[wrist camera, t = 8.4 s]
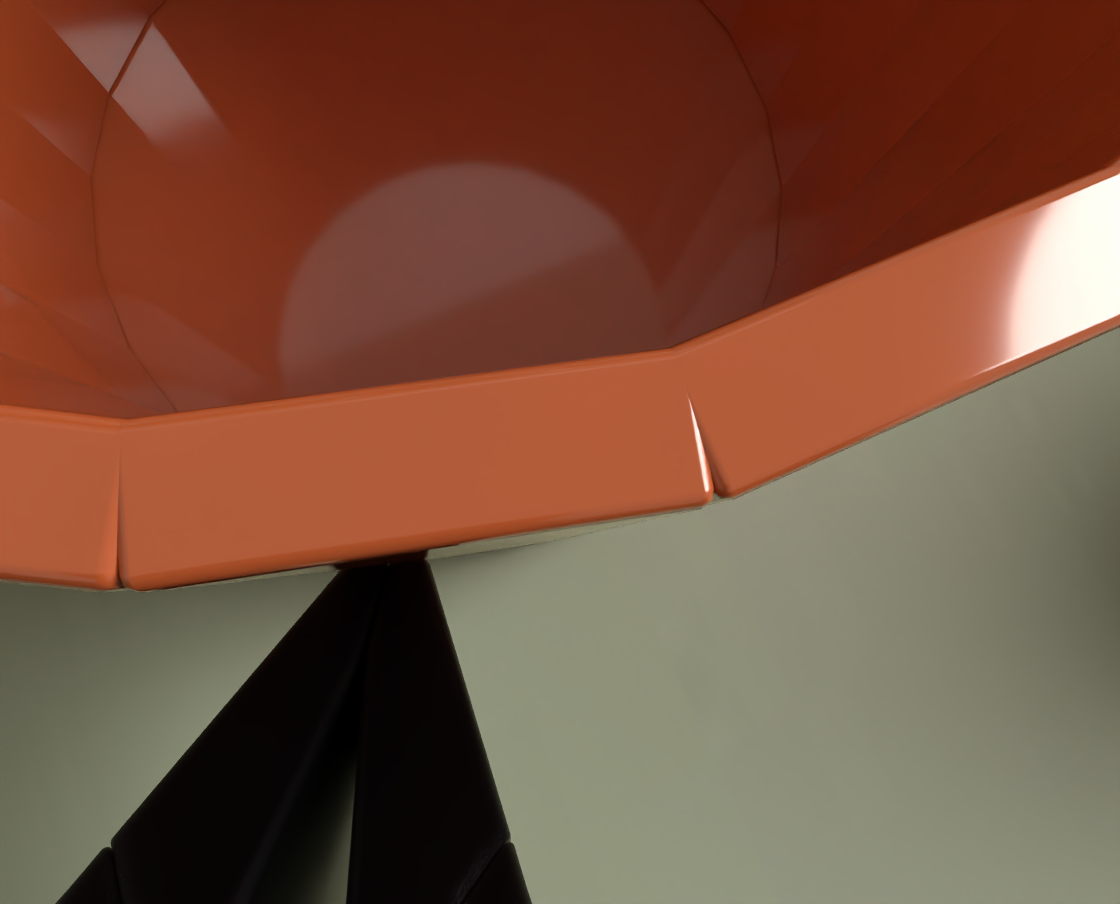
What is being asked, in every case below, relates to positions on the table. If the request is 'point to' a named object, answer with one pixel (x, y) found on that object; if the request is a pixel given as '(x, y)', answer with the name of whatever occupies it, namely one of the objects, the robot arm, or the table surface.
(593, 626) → the table surface
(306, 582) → the table surface
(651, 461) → the bucket
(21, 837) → the table surface
